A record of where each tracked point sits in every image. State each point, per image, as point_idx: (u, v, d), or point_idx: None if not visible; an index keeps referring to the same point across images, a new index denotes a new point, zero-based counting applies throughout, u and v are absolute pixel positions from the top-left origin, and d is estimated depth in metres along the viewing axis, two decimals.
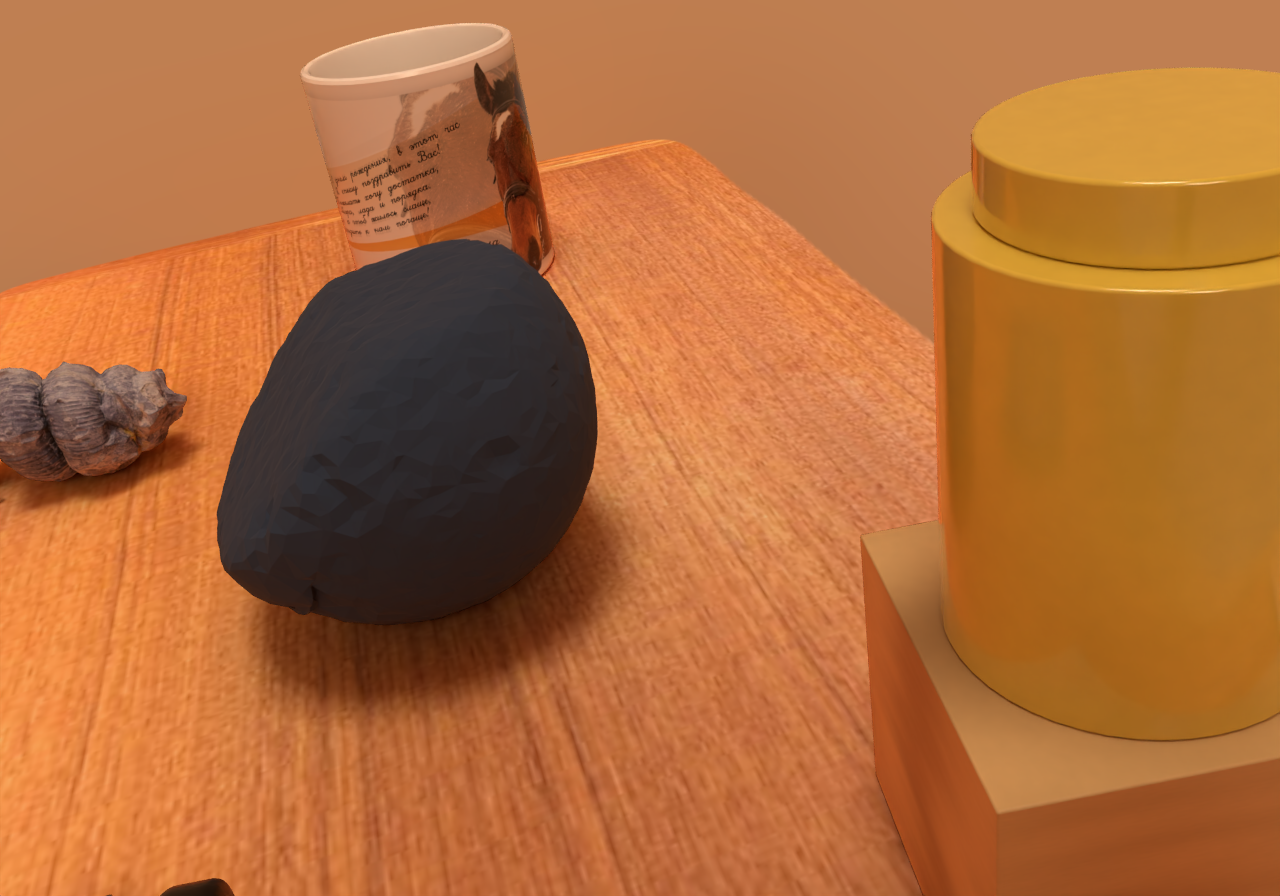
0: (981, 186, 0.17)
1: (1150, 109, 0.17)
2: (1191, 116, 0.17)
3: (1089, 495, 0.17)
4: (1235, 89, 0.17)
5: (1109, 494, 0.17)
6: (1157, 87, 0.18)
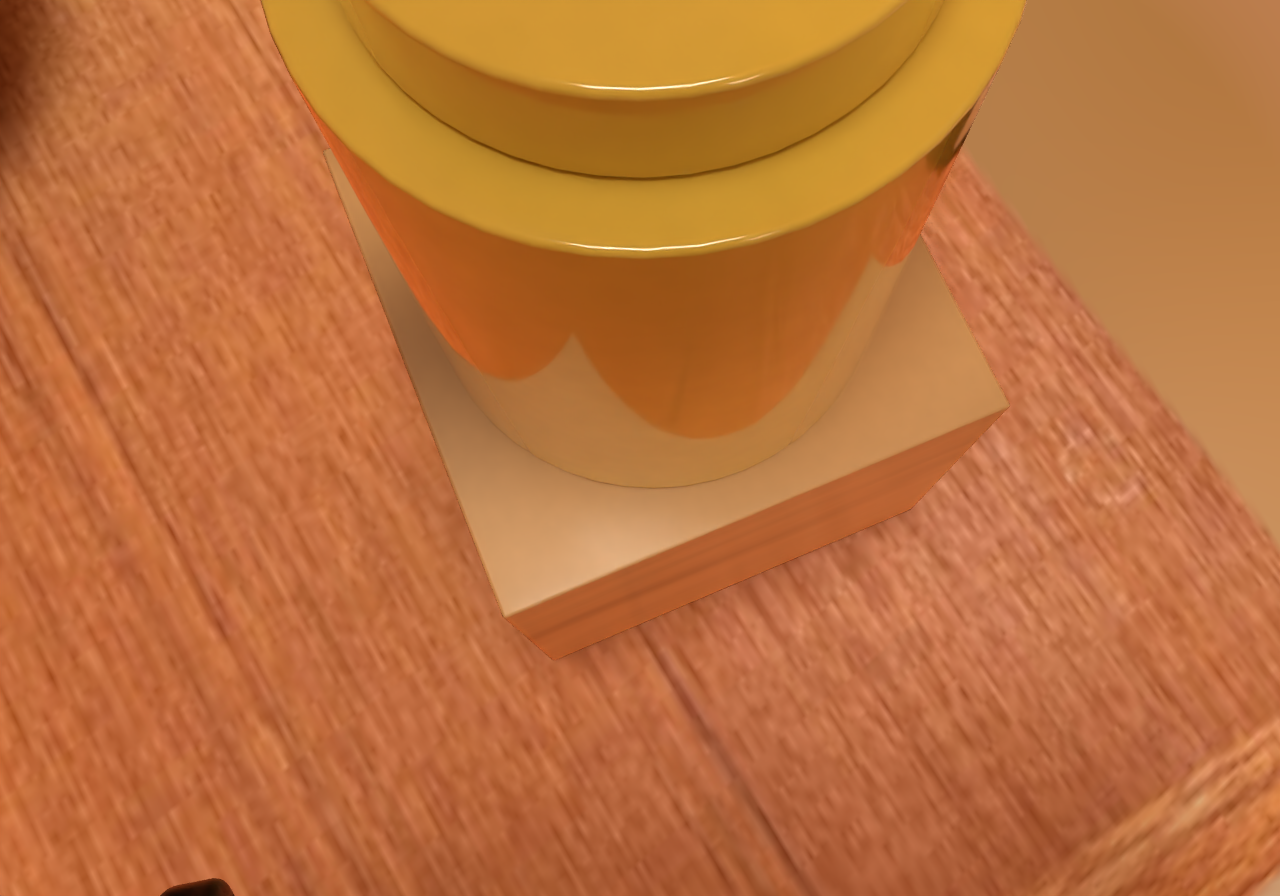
0: None
1: None
2: None
3: (564, 377, 0.12)
4: None
5: (589, 380, 0.12)
6: None
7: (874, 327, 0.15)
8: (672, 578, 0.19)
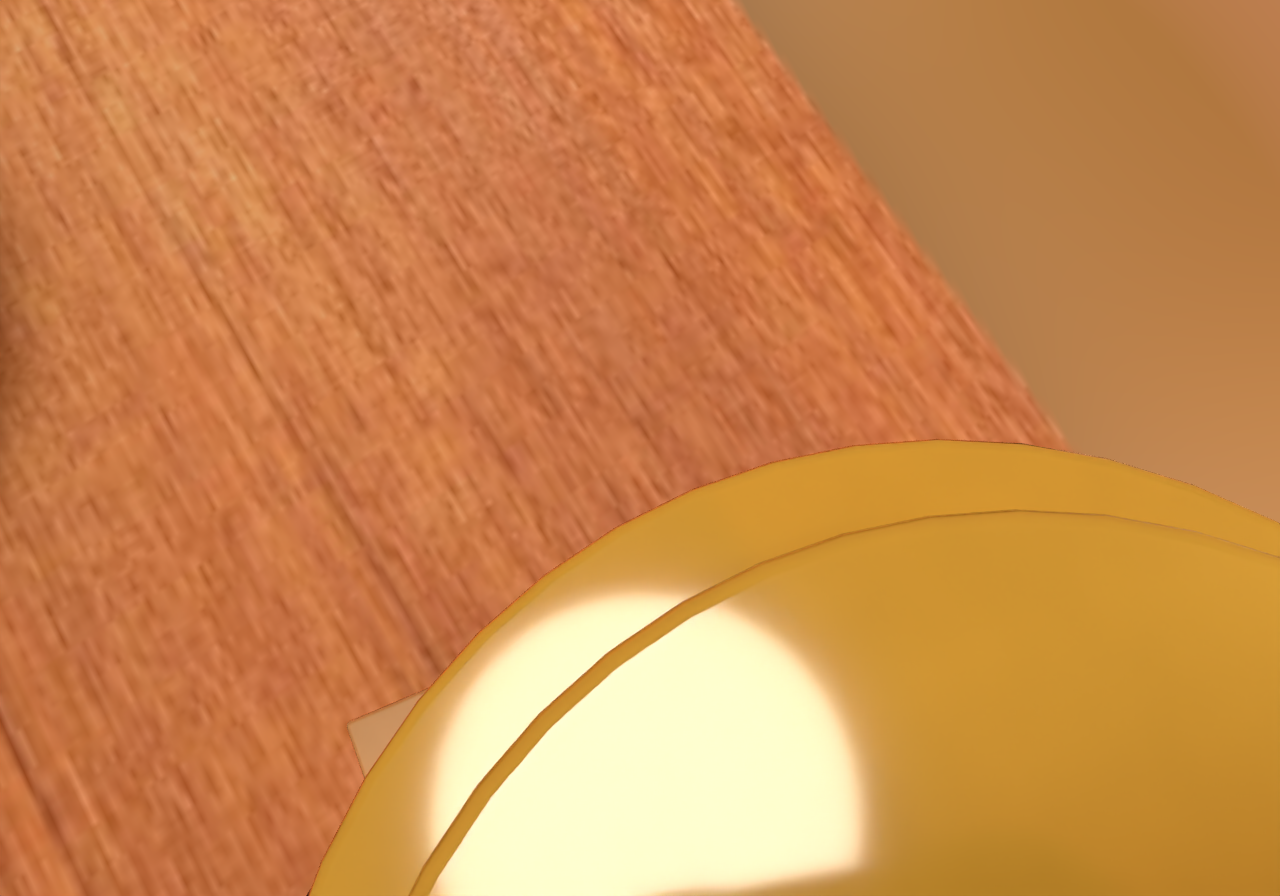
0: None
1: None
2: None
3: None
4: None
5: None
6: (1067, 802, 0.04)
7: None
8: None
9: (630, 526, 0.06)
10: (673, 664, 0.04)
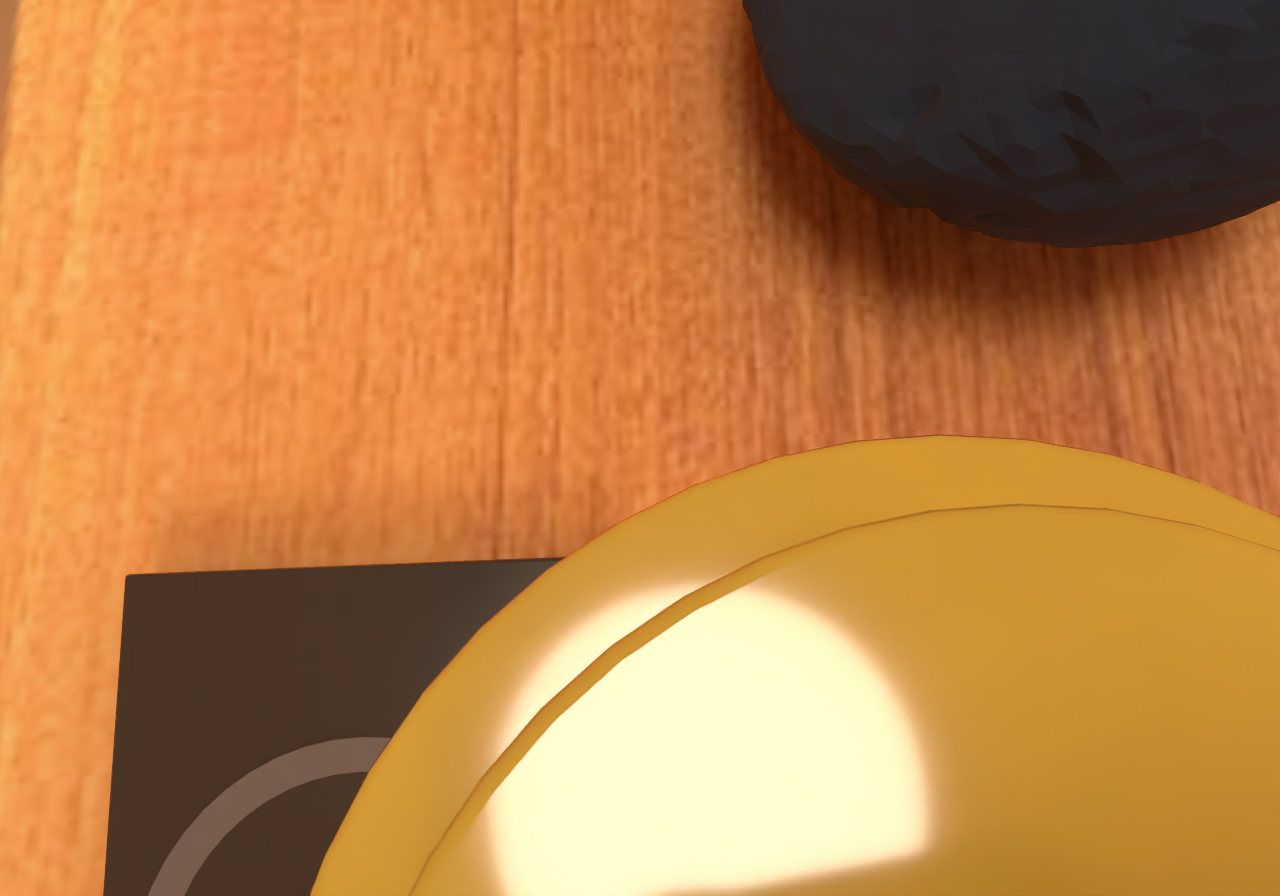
0: None
1: None
2: None
3: None
4: None
5: None
6: (1069, 793, 0.04)
7: None
8: None
9: (633, 521, 0.06)
10: (676, 657, 0.04)
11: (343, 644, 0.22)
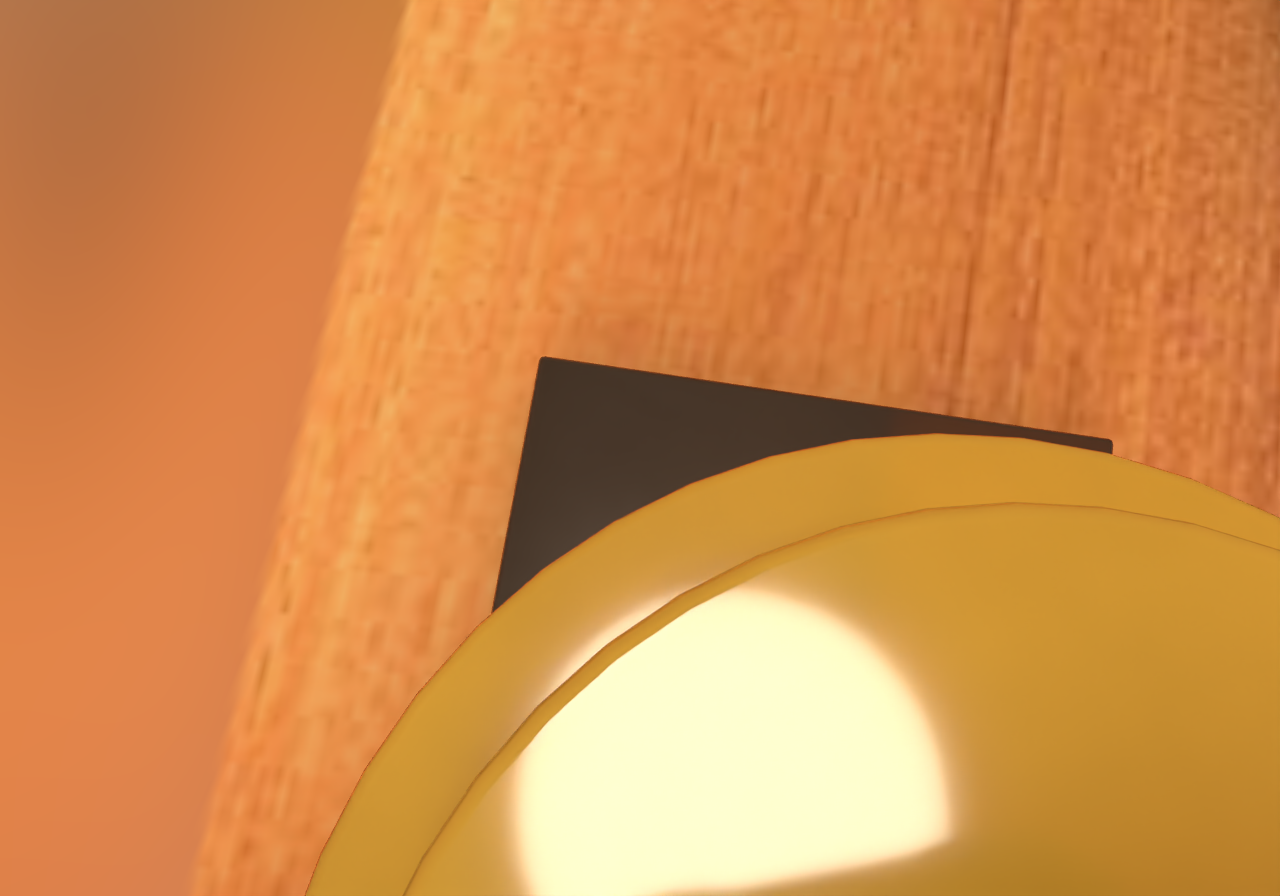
0: None
1: None
2: None
3: None
4: None
5: None
6: (1063, 793, 0.04)
7: None
8: None
9: (628, 520, 0.06)
10: (671, 656, 0.04)
11: None
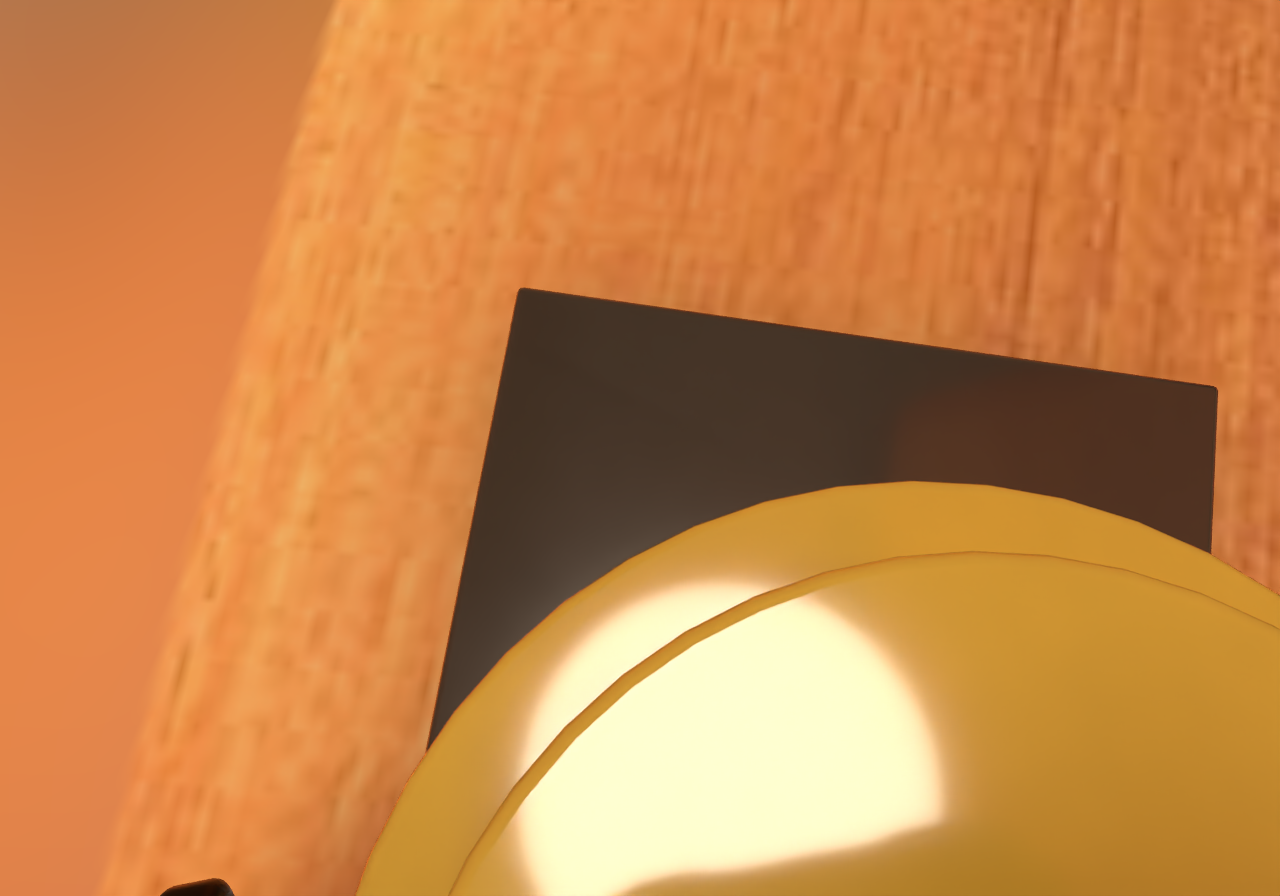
0: None
1: None
2: None
3: None
4: None
5: None
6: (1011, 800, 0.05)
7: None
8: None
9: (640, 558, 0.07)
10: (679, 685, 0.05)
11: (818, 437, 0.15)
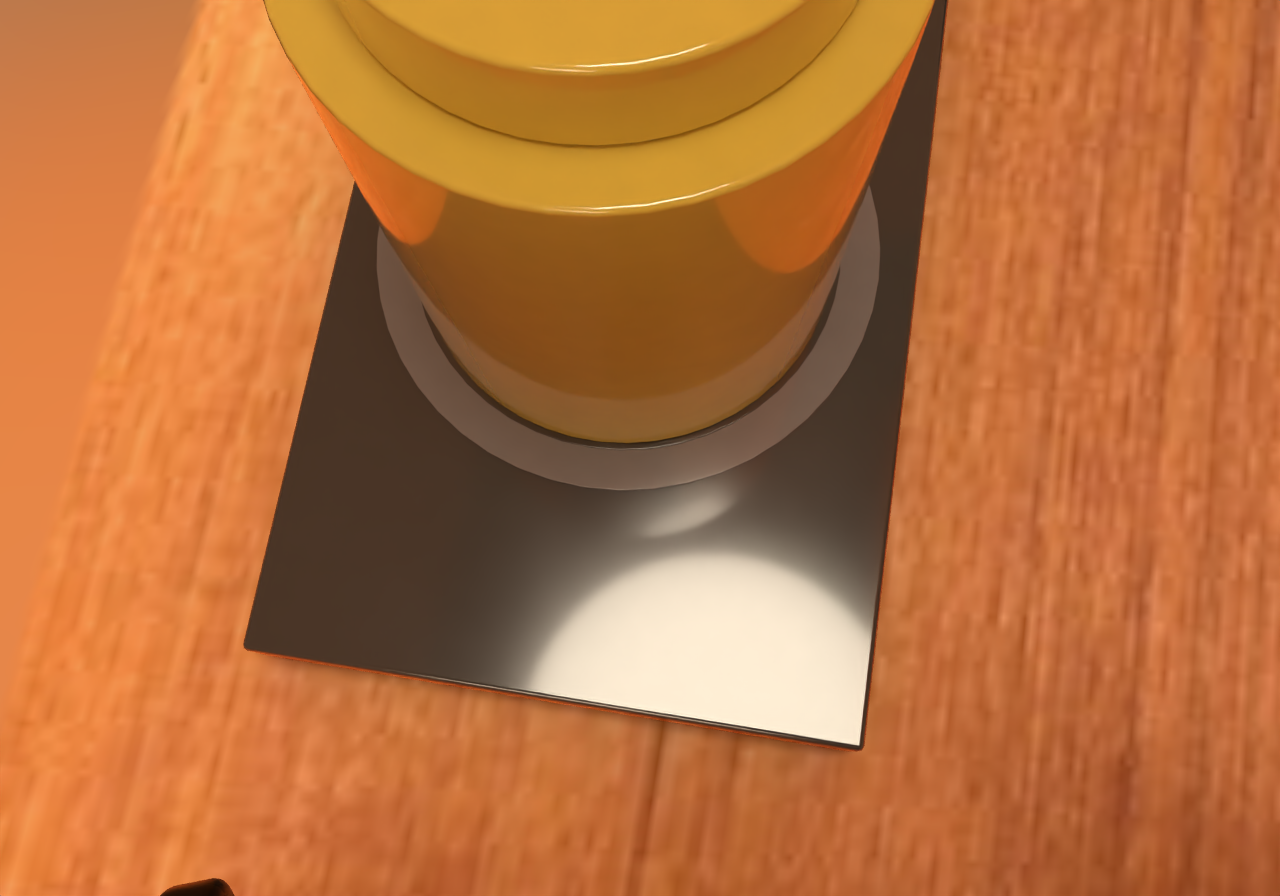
0: None
1: None
2: None
3: (536, 331, 0.13)
4: None
5: (559, 334, 0.13)
6: None
7: (826, 291, 0.16)
8: None
9: None
10: None
11: None
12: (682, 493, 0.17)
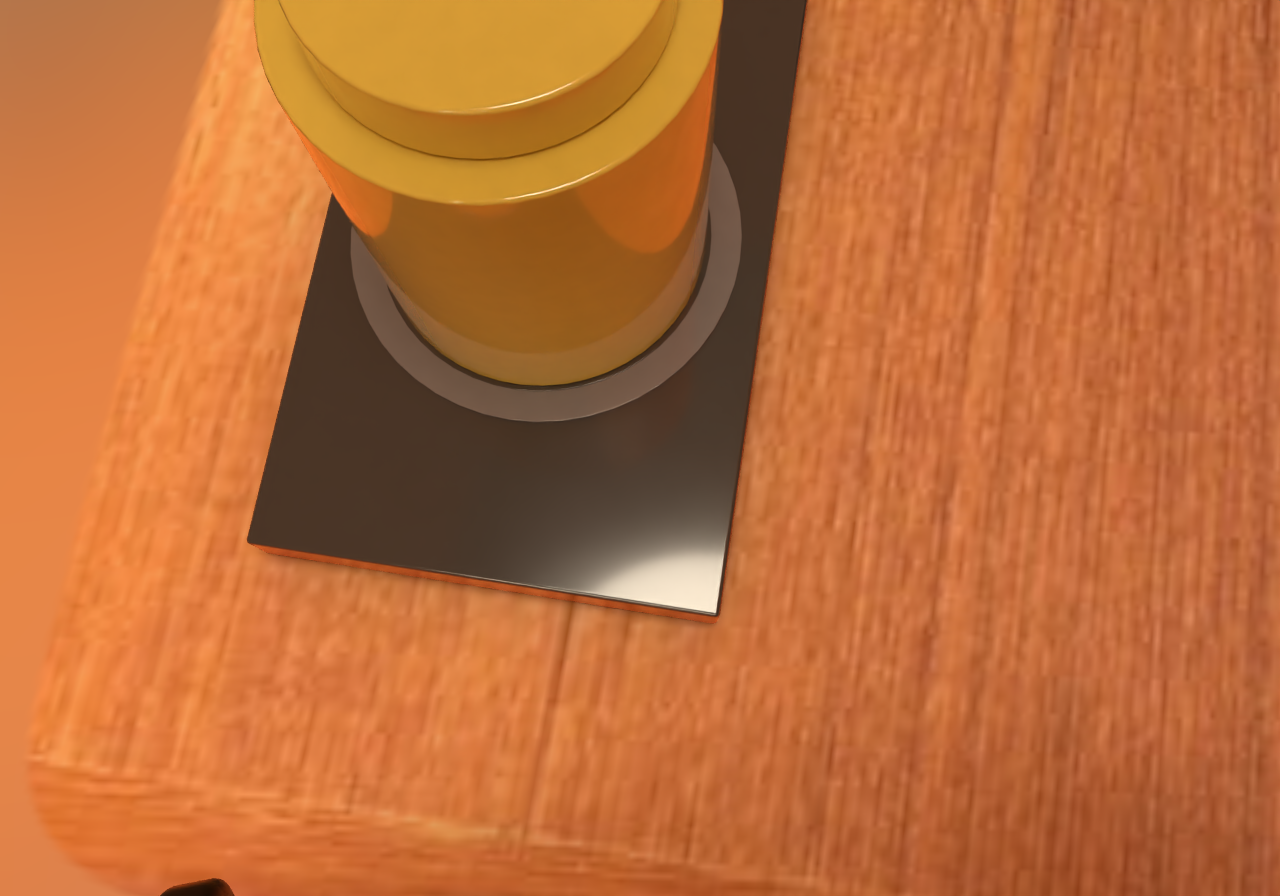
0: None
1: None
2: None
3: (457, 291, 0.18)
4: None
5: (473, 292, 0.18)
6: None
7: (685, 266, 0.21)
8: None
9: None
10: None
11: None
12: (585, 424, 0.23)
